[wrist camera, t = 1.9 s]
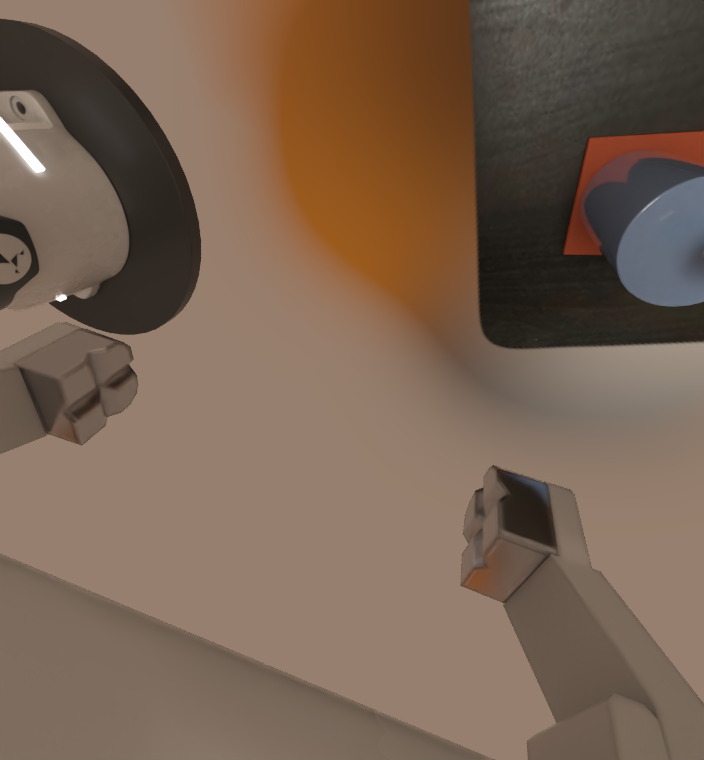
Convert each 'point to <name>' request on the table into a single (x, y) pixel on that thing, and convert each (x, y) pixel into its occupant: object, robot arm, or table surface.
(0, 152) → the robot arm
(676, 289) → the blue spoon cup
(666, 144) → the red mat
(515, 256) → the table surface
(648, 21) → the table surface
